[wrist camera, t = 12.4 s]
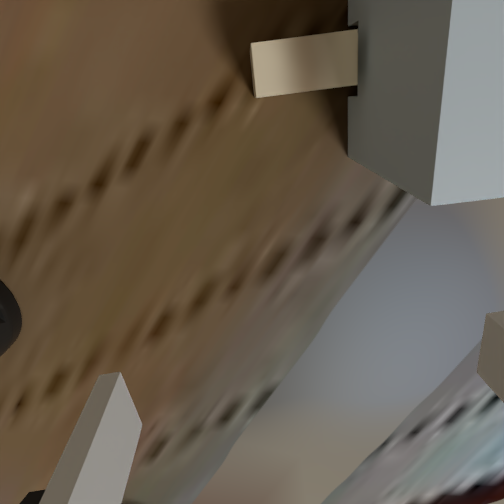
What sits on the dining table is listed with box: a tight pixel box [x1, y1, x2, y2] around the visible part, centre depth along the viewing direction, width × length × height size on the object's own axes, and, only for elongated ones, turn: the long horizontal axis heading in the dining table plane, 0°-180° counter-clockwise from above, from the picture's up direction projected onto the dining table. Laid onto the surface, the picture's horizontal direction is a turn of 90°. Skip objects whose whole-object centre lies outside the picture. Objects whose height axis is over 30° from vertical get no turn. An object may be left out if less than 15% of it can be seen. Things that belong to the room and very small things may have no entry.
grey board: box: [348, 0, 504, 206], centre depth 25 cm, size 18×5×18 cm, turn 7°
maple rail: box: [250, 29, 358, 98], centre depth 31 cm, size 24×4×6 cm, turn 97°
